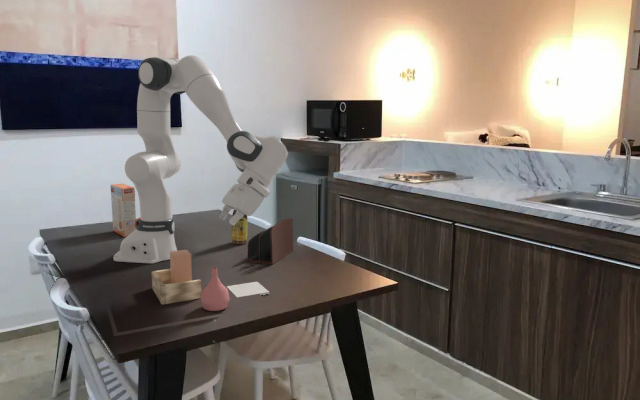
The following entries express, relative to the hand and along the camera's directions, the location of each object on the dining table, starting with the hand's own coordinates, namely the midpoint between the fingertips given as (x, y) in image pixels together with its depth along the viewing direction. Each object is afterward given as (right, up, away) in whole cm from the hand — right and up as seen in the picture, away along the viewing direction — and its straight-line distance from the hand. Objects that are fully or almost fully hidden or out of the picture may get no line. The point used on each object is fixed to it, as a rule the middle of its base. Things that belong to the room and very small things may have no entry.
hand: (225, 221), depth 153 cm
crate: (-13, -21, -4) cm, 26 cm away
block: (-12, -21, -3) cm, 24 cm away
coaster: (+7, -21, 0) cm, 22 cm away
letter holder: (+10, -15, +36) cm, 41 cm away
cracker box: (-56, -8, +66) cm, 87 cm away
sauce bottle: (-4, -11, +53) cm, 55 cm away
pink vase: (0, -24, -15) cm, 28 cm away
